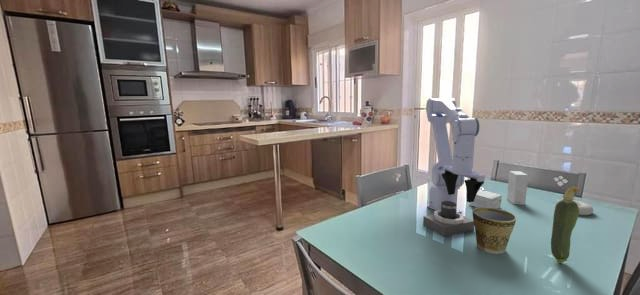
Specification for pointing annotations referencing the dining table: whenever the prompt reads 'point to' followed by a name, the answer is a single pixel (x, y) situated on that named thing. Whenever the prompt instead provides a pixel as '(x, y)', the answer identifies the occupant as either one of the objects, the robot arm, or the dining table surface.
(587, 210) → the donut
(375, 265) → the dining table surface
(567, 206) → the vegetable
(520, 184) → the skincare box
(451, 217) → the lens
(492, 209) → the ceramic cup
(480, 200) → the small box
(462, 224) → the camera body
